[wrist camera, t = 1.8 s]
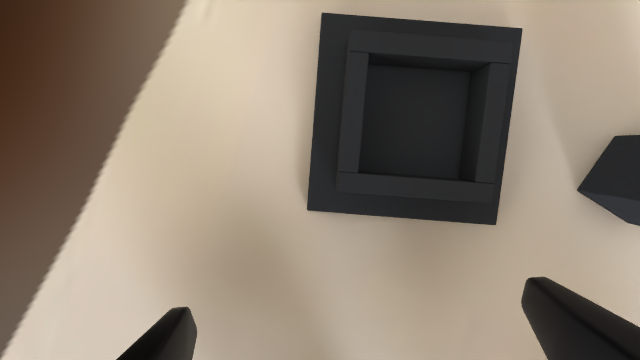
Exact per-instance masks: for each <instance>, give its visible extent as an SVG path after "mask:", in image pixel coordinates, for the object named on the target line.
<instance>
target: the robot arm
mask: <svg viewBox="0 0 640 360" xmlns="http://www.w3.org/2000/svg"><path fill="white" fill-rule="evenodd" d="M521 304H522V308H523V311H524V313H525V315H526V317H527V319H528V321H529V323H530V325H531V327H532V329H533V331H534V333H535V335H536V337H537V339H538V341H539V343H540V345H541V347H542V349H543V351H544V353H545V355H546V357H547V359H548V360H640V327H638V326H636V325H634V324H632V323H630V322H629V321H627V320H625V319H623V318H621V317H619V316H617V315H616V314H614V313H612V312H610V311H608V310H606V309H604V308H603V307H601V306H599V305H597V304H595V303H593V302H591V301H590V300H588V299H586V298H584V297H582V296H580V295H578V294H577V293H575V292H573V291H571V290H569V289H567V288H565V287H564V286H562V285H560V284H558V283H556V282H554V281H552V280H551V279H549V278H546V277H532V278H528V279H527V280H526V283H525V287H524V291H523V295H522V299H521ZM196 338H197V327H196V324H195V322H194V319H193V316H192V313H191V311H190V309H189V308H188V307H177V308H172V309H171V310H169V311H168V312H167V313H166V314H165V315H164V316H163V317H162V318H161V319H160V320H159V321H157V322H156V323H155V324H154V325H153V326H152V327H151V328H150V329H149V330H148V331H147V332H146V333H144V334H143V335H142V336H141V337H140V338H139V339H138V340H137V341H136V342H135V343H134V344H133V345H132V346H130V347H129V348H128V349H127V350H126V351H125V352H124V353H123V354H122V355H121V356H120V357H119V358H117V359H116V360H192V358H193V353H194V348H195V343H196Z"/></svg>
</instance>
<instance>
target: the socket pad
mask: <svg viewBox="0 0 640 360" xmlns="http://www.w3.org/2000/svg"><path fill="white" fill-rule="evenodd" d="M521 36H522V28H510V27H497V26H485V25H472V24H459V23H446V22H434V21H421V20H408V19H395V18H383V17H370V16H357V15H344V14H331V13H322V17H321V31H320V44H319V57H318V71H317V84H316V97H315V110H314V124H313V137H312V150H311V164H310V177H309V190H308V204H307V210H308V211H321V212H334V213H347V214H359V215H372V216H385V217H398V218H410V219H423V220H436V221H449V222H461V223H474V224H487V225H496V221H497V213H498V206H499V199H500V191H501V184H502V176H503V169H504V162H505V154H506V147H507V139H508V132H509V125H510V117H511V110H512V102H513V95H514V88H515V80H516V73H517V65H518V58H519V51H520V43H521Z"/></svg>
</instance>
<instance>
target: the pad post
mask: <svg viewBox="0 0 640 360" xmlns="http://www.w3.org/2000/svg"><path fill="white" fill-rule="evenodd" d="M577 191H579V192H580V193H582V194H583V195H585V196H587V197H588V198H590V199H591V200H593V201H594V202H596V203H598V204H599V205H601V206H602V207H604V208H605V209H607V210H608V211H610V212H612V213H613V214H615V215H616V216H618V217H619V218H621V219H623V220H624V221H626V222H627V223H630V224H634V225H638V226H640V135H628V136H615V137H614V138H613V140H612V141H611V143H610V144H609V146H608V147H607V148H606V150H605V151H604V153H603V154H602V155H601V157H600V158H599V160H598V161H597V163H596V164H595V165H594V167H593V168H592V170H591V171H590V172H589V174H588V175H587V177H586V178H585V180H584V181H583V182H582V184H581V185H580V187H579V188H578V189H577Z"/></svg>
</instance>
